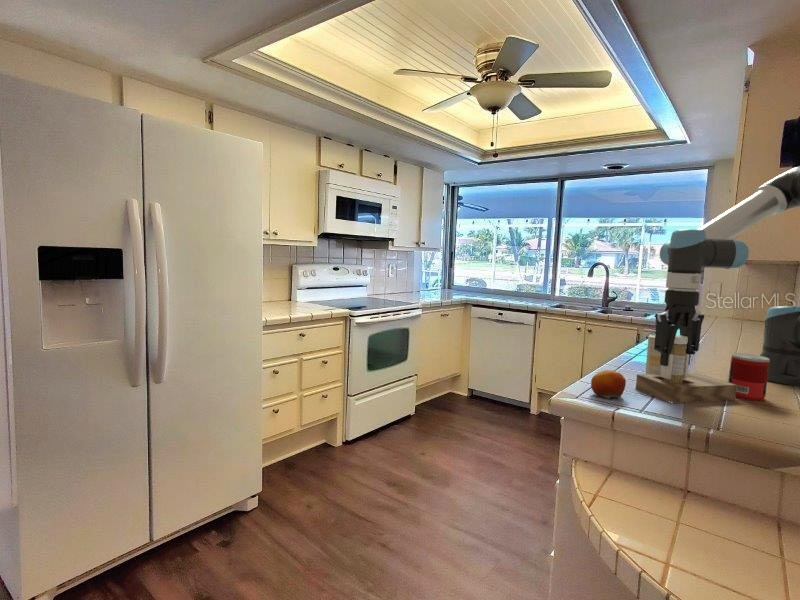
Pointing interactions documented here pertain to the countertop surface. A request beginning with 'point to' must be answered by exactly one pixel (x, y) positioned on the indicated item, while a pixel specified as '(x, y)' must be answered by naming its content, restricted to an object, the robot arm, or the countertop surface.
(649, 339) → the supplement box
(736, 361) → the canned food
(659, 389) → the caddy
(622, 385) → the fruit
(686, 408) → the countertop surface
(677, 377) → the sprinkles bottle
